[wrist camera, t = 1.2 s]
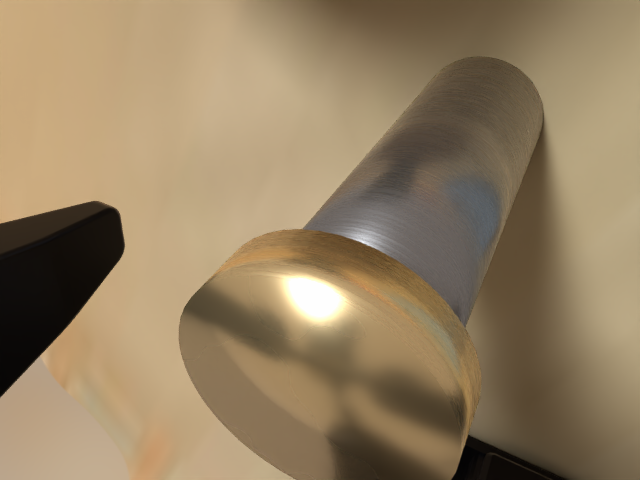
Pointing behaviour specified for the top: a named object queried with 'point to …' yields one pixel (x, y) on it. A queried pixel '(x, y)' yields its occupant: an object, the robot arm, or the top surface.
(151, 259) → the top surface
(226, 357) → the bolt
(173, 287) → the top surface
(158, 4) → the top surface
